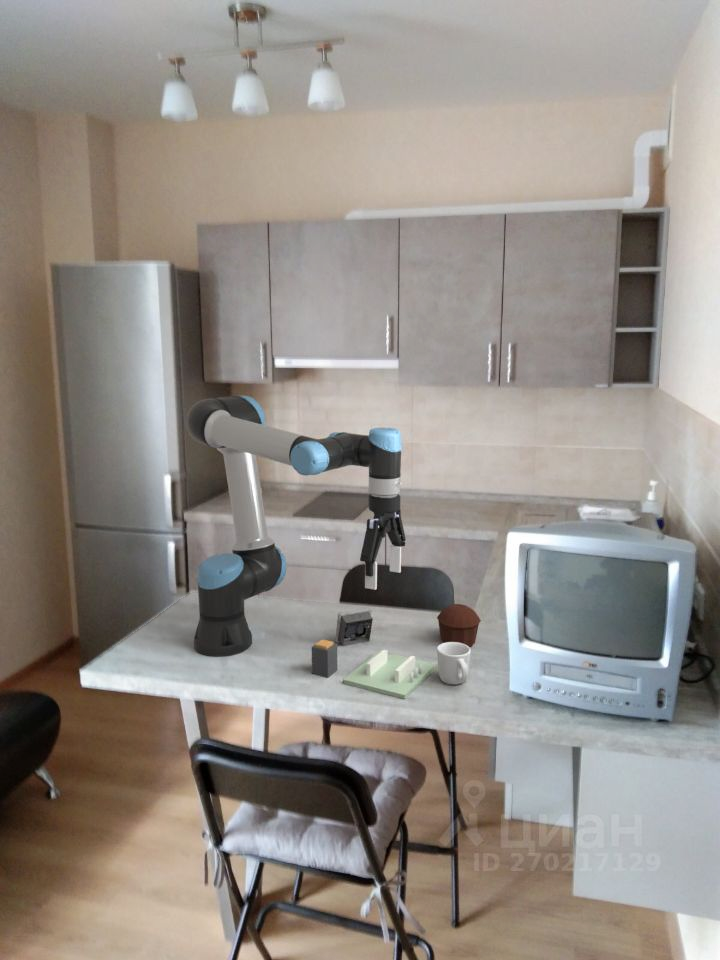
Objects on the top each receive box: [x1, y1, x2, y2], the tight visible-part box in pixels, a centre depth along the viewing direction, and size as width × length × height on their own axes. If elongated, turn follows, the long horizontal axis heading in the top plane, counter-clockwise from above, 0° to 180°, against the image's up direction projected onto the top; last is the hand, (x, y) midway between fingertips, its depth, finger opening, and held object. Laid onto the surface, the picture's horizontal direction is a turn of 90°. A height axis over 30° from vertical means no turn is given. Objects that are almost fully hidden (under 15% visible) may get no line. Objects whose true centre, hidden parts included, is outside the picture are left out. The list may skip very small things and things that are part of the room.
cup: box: [436, 642, 472, 685], centre depth 176 cm, size 11×8×8 cm
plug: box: [311, 639, 338, 679], centre depth 182 cm, size 4×4×8 cm
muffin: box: [436, 603, 482, 648], centre depth 199 cm, size 12×11×10 cm
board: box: [343, 649, 438, 700], centre depth 180 cm, size 16×18×4 cm
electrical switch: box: [334, 607, 374, 647], centre depth 199 cm, size 9×5×9 cm, turn 113°
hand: (383, 579), depth 181 cm, fingers open, 13 cm apart
